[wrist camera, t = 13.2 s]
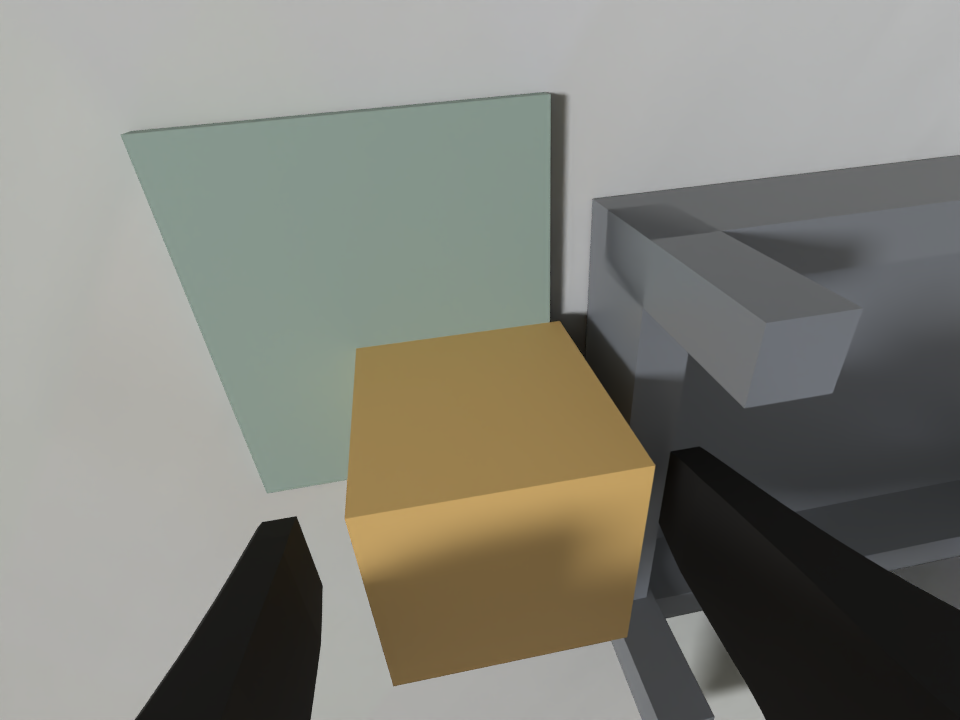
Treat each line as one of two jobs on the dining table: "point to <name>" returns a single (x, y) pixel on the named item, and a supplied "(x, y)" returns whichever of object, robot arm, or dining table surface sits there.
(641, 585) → the case
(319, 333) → the mat
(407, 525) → the block
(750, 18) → the dining table surface
